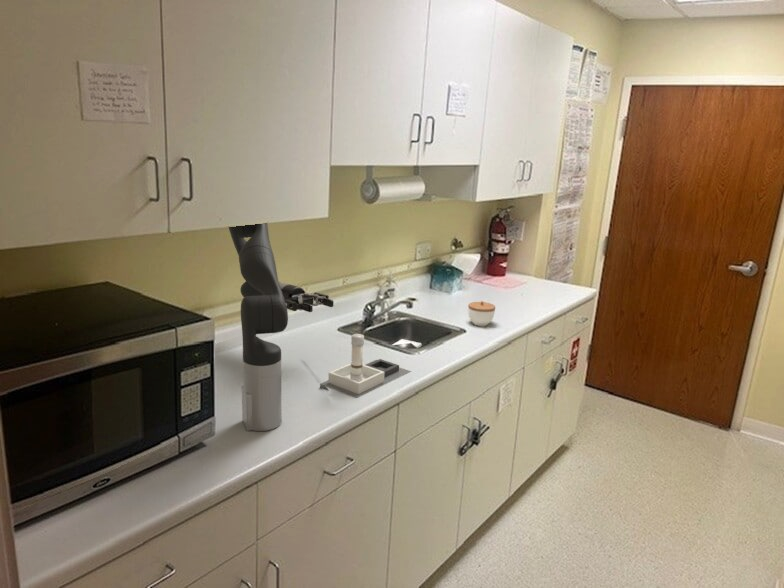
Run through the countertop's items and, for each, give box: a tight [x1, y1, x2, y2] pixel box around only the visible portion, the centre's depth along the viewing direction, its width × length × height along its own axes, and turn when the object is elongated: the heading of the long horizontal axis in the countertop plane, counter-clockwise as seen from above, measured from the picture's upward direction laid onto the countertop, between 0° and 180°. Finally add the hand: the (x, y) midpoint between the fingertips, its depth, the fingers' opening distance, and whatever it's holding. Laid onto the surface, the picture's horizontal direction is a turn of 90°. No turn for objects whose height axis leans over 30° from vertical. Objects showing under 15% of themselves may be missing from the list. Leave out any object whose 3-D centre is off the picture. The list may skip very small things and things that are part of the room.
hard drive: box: [392, 338, 422, 349], centre depth 204 cm, size 2×8×12 cm
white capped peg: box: [350, 333, 365, 382], centre depth 169 cm, size 4×4×14 cm
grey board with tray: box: [319, 358, 412, 399], centre depth 175 cm, size 26×14×4 cm, turn 143°
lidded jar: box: [467, 300, 496, 327], centre depth 234 cm, size 11×11×9 cm
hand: (322, 306), depth 175 cm, fingers open, 8 cm apart
